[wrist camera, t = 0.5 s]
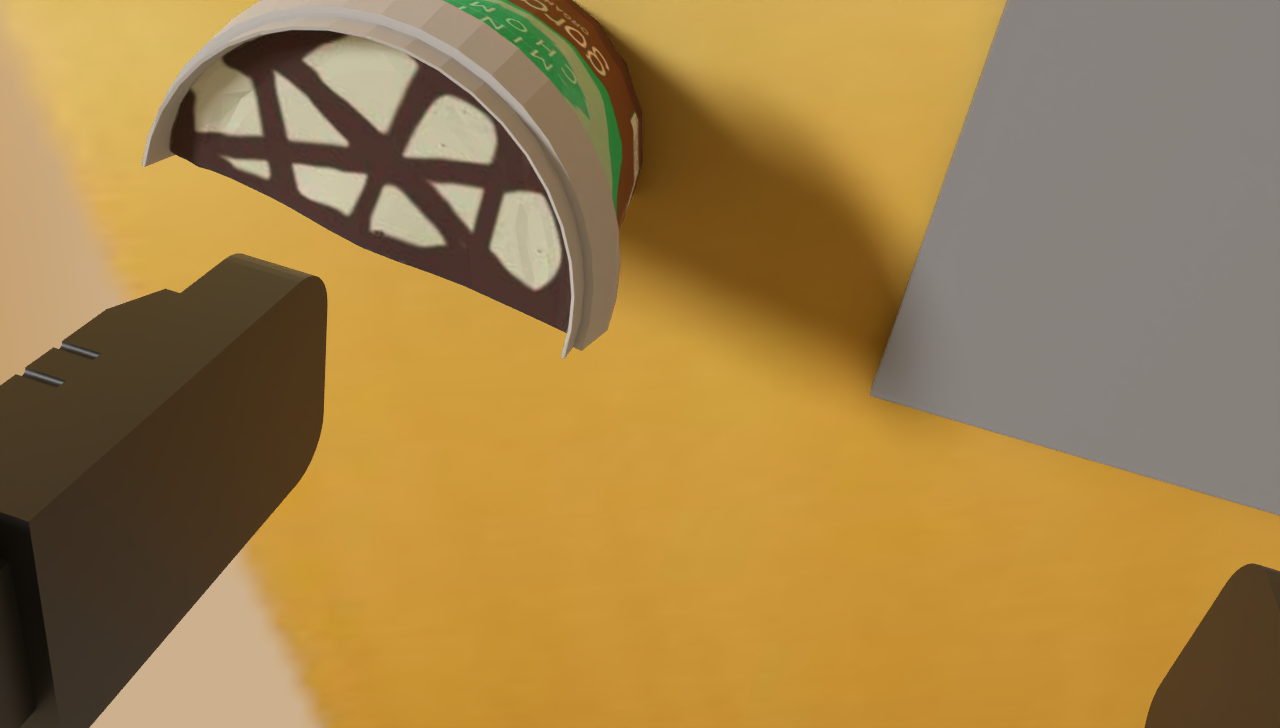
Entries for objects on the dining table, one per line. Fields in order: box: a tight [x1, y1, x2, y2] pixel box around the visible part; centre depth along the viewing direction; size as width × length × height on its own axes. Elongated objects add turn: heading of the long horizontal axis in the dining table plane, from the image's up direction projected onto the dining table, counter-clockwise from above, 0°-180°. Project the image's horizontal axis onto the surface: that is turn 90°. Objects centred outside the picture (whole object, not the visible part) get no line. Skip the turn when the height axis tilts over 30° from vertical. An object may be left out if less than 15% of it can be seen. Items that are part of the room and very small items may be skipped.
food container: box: [142, 0, 642, 359], centre depth 30 cm, size 12×6×10 cm, turn 70°
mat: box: [870, 0, 1280, 515], centre depth 30 cm, size 22×14×1 cm, turn 169°
